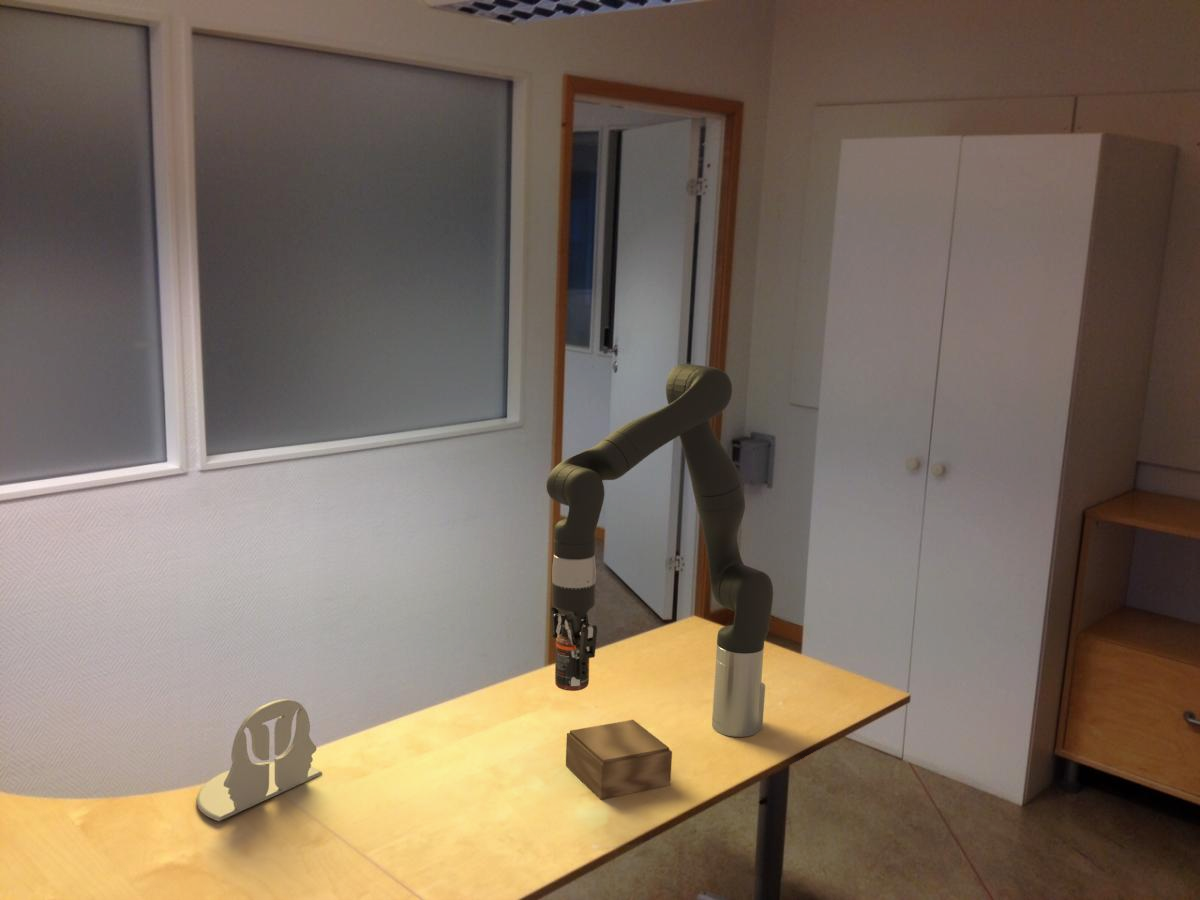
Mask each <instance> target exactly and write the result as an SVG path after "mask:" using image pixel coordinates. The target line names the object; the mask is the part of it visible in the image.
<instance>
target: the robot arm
mask: <svg viewBox="0 0 1200 900" xmlns="http://www.w3.org/2000/svg"><path fill="white" fill-rule="evenodd" d="M665 394H666V395H665V396H666V400H667V405H665V406H663V407H662V408H660V409H657V410H655V411H653V412H651V413H648V414H645V415H642V416H641V417H638V418H635V419H633V420H631V421H629V422H626V423H625V424H624V425H622V426H620V427H619V428H616V430H614V431H612V433H609V435H607V436H606V437H605V438H603V439H602V440H601V441H599V442H598V443H597V444H596V445H594V446H593V447H592V446H591V447H590V448H587V449H585V450H583V451H580V452H578V453H576V454H574V455H572V456H569V457H568V458H566V459H564V460H562V461H560V463H558V464H556V466H555V467H554V468H553V469H552V470H551V471H550V473H549V475H548V477H547V479H546V492H547V494H548V496H549V497H550V498H551V499H552V500H553V501H554V502H556V503H559V504H562V505H563V506H567V507H568V512H567V518H565V519H561V520H559V521H557V523H556V524H555V526H554V531H553V533H554V534H553V561H552V567H551V568H552V569H551V570H552V571H551V573H552V575H551V579H552V580H551V604H552V605H551V606H550V620H551V621H550V622H551V637H552V639H553V640H556V638H557V636H558V635H559V634H561V633H562V631H561V629H562V624H564V623H565V628H566V630H567V631H568V637H569V643H570V645H571V646H573V650H574V656H575V658H574V677H575V678H576V679H577V680H579V679H585V678H586V677H587V667H588V658H589V659H592V658H595V656H596V646H597V645H596V644H597V635H598V626H597V625H595V624H594V625H590V624H589V616H588V612H589V611H590V610H592V609H593V608H594V607H595V605H596V585H597V584H596V583H597V582H596V579H597V578H596V575H597V574H596V572H597V571H596V570H597V569H596V559H595V558H596V557H595V556H596V553H595V550H596V547H595V545H596V535H595V534H596V530H597V526H598V524H599V520H600V516H601V512H602V508H603V505H604V502H605V501H604V500H605V486H604V482H603V481H614V480H617V479H619V478H622V476H624V475H625V474H627V473H628V472H629V471H631V470H632V469H633V468H634V467H636V466H637V465H638V464H639V463H641V462H642V461H643V460H645V459H646V458H647V457H649V456H650V455H651V454H653V453H654V452H655V451H657V450H659V449H660V448H662V447H663V446H665V445H666V444H668V443H670V442H671V441H672V440H674V439H676V438H678V437H679V439H680V442H681V446H682V449H683V454H684V457H685V461H686V465H687V469H688V472H689V477H690V482H691V486H692V487H691V488H692V491H693V495H694V501H695V505H696V509H697V512H698V515H699V519H700V524H701V528H702V529H701V530H702V535H703V539H704V542H705V548H706V549H705V550H706V553H707V563H708V572H709V579H710V587H711V591H712V595H713V597H714V599H715V600H716V602H717V603H718V604H719V605H720V606H722V607H724V608H725V609H728V610H730V611H733V612H734V617H733V624H730V625H725V626H723V627H721V628H720V629H719V630H718V631H717V637H716V653H715V668H714V669H715V672H714V686H713V702H712V717H711V719H712V720H711V726H712V729H713V730H714V731H715V732H717V733H718V734H721V735H723V736H727V737H734V738H745V737H746V738H747V737H751V736H753V735H756V734H757V733H758V732H760V731H762V730H763V728H764V727H763V724H764V723H763V722H764V710H765V696H766V684H765V683H763V682H762V681H763V680H762V679H763V678H762V677H763V663H764V661H763V660H764V648H765V641H766V638H767V636H768V634H769V631H770V625H771V624H770V623H771V616H772V609H773V601H774V600H773V599H774V587H773V583H772V582H773V581H772V579H771V578H770V576H769V575H768V574H767V573H766V572H764V571H761V570H759V569H756V568H754V567H750V566H748V565H745V563H744V561H743V559H742V557H741V552H740V548H739V544H738V532H739V530H740V526H741V524H742V521H743V518H744V514H745V510H746V499H745V495H744V489H743V484H742V481H741V480H742V479H741V476H740V474H739V470H738V468H737V466H736V465H735V463H734V461H733V460H732V458H731V456H730V455H729V453H728V452H727V450H726V449H725V447H724V446H723V444H722V443H721V442H720V440H719V439H718V437H717V436H716V434H715V431H714V430H713V427H712V424H711V419H712V418H715V417H716V416H718V415H720V414H721V413H722V412H723V411H724V410H725V409H726V408H727V407H728V405H729V403H730V402H731V398H732V395H733V385H732V381H731V378H730V377H729V375H728V374H727V373H726V372H725V371H724V370H722V369H720V368H717V367H712V366H706V365H699V364H690V363H683V364H679V365H676V366H675V367H673V368H672V370H671V371H670V372H669V373H668V376H667V379H666V383H665ZM580 637H581V638H580ZM574 638H580V640H578V641H576V640H575V639H574ZM578 645H580V649H579V648H578ZM589 646H590V651H589Z"/></svg>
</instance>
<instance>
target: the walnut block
mask: <svg viewBox="0 0 1200 900" xmlns="http://www.w3.org/2000/svg"><path fill="white" fill-rule="evenodd" d="M565 745H566V746H565V748H566V749H565V767H566V768H567V769H568V770H569V771H570V772H571V773H572V774H573V775H574V776H576V778H577V779H579V781H580V782H582V783H583V785H585V786H586V787H587V788H588V789H589V790H590V791H591V792H592V793H593V794H594V795H595V796H596V797H598V799H599V800H601V801H602V800H605V799H611V798H617V797H620V796H625V795H630V794H635V793H639V792H644V791H650V790H654V789H658V788H659V789H660V788H664V787H669V786H671V782H672V781H671V780H672V763H673V762H672V759H673V751H672V750H671V748H670V747H669V746H667V744H665V743H664V742H663V741H661V740H660V739H659V738H657V737H656V736H654V735H653V734H652V733H651V732H650V731H648V730H647V729H646V728H644V726H642V725H641V724H640V723H638V722H637V721H635V720H634V719H629V720H624V721H619V722H618V721H617V722H612V723H606V724H600V725H594V726H590V727H583V728H582V727H581V728H578V729H577V728H576V729H571V730H569V732H566V744H565Z"/></svg>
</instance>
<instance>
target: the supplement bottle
mask: <svg viewBox="0 0 1200 900" xmlns="http://www.w3.org/2000/svg"><path fill="white" fill-rule="evenodd" d="M561 631H562V633H561V634H559V635H558V636H557V638H556V639H555V664H554V665H555V668H554V670H555V671H554V673H555V674H554V682H555V683H554V684H555V686H556V687H557V688H559V689H560V690H563V691H569V692H577V691H581V690H582V691H583V690H584V689H586V688H587V687H588V686H589V681H590V658H588V667H587V677H586V678H585V679H579V680H577V679H576V678H575V677H574V658H575V656H574V650H573V646H571V645H570V643H569V637H568V631H567V630H566V628H565V623H564V624H562V629H561ZM580 638H581V637H580ZM580 638H574V639H575V640H576V641H578V640H580ZM578 648H579V649H580V645H578ZM589 651H590V646H589Z"/></svg>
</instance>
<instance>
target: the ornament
mask: <svg viewBox="0 0 1200 900" xmlns="http://www.w3.org/2000/svg"><path fill="white" fill-rule="evenodd" d="M295 715H296V717H294V716H295ZM294 718H295V730H294V736H293V738H292V729H293V728H292V727H293V726H292V725H293V720H294ZM275 719H276V720H275ZM272 720H275V722H274V723H275V724H274V733H273V734H274V735H273V736H274V738H273V739H274V755H275V756H276V757H274V761H269V760H270V737H271V735H270V729H269V726H268V725H267V724H265V723H267V722H270V721H272ZM246 728H247V729H248V731H249V732H250V738H251V749H252V753H253V756H254V757H255V758H256V759H258V760H260V761H263V762H257V763H254V762H252V761H251V759H250V757H249V754H248V745H247V735H246V732H245V730H246ZM310 731H311V724H310V718H309V715H308V712H307V710H306V708H305V707H304V706H303V705H302V704H301V703H300V702H298V701H296V700H292V699H287V698H286V699H285V698H283V699H278V700H273V701H270V702H267V703H266V704H264V705H261V706H259V707H258V708H256V709H255V710H253V711H252V712H251V713H250V714H249V715H248V716H246V717H245V719H244V720H243V722H242V723H241V725H240V726H239V728H238V730H237V731H236V734H235V736H234V739H233V743H232V748H231V755H230V756H231V762H232V764H231V767H230V769H229V770H228V769H227V770H226V771H224V772H221V773H220V774H217V775H216V776H214V777H212V778H211V779H209V780H208V781H207V782H205V784H204V785H203V786H201V788H200V789H199V790H198V791H199V792H198V794H197V797H196V804H197V807H198V809H199V811H200V812H201V813H203V814H204V815H205V816H206V817H208V818H210V819H212V820H215V821H216V822H217V821H218V822H220V821H222V820H225V819H227V818H229V817H231V816H234V815H236V814H238V813H240V812H242V811H244V810H247V809H249V808H251V807H254V806H255V805H257V804H259V803H262V802H264V801H267V800H268V799H271V798H273V797H275V796H277V795H280V794H282V793H284V792H286V791H288V790H290V789H292V788H294V787H297V786H299V785H302V784H303V783H306V782H308V781H310V780H313V779H314V778H316V777H319V776H321V775H323V771H321V770H320V769H317V768H315V767H314V766H312V762H313V761H314V759H313V754H315V753H316V751H317V746H316V745H315V743H314V742H313V741H312V739H311V737H310ZM291 739H292V742H291ZM290 743H291V744H290ZM264 761H266V762H264ZM273 764H274V765H273ZM270 765H272V766H270ZM223 780H224V781H223Z"/></svg>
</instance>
